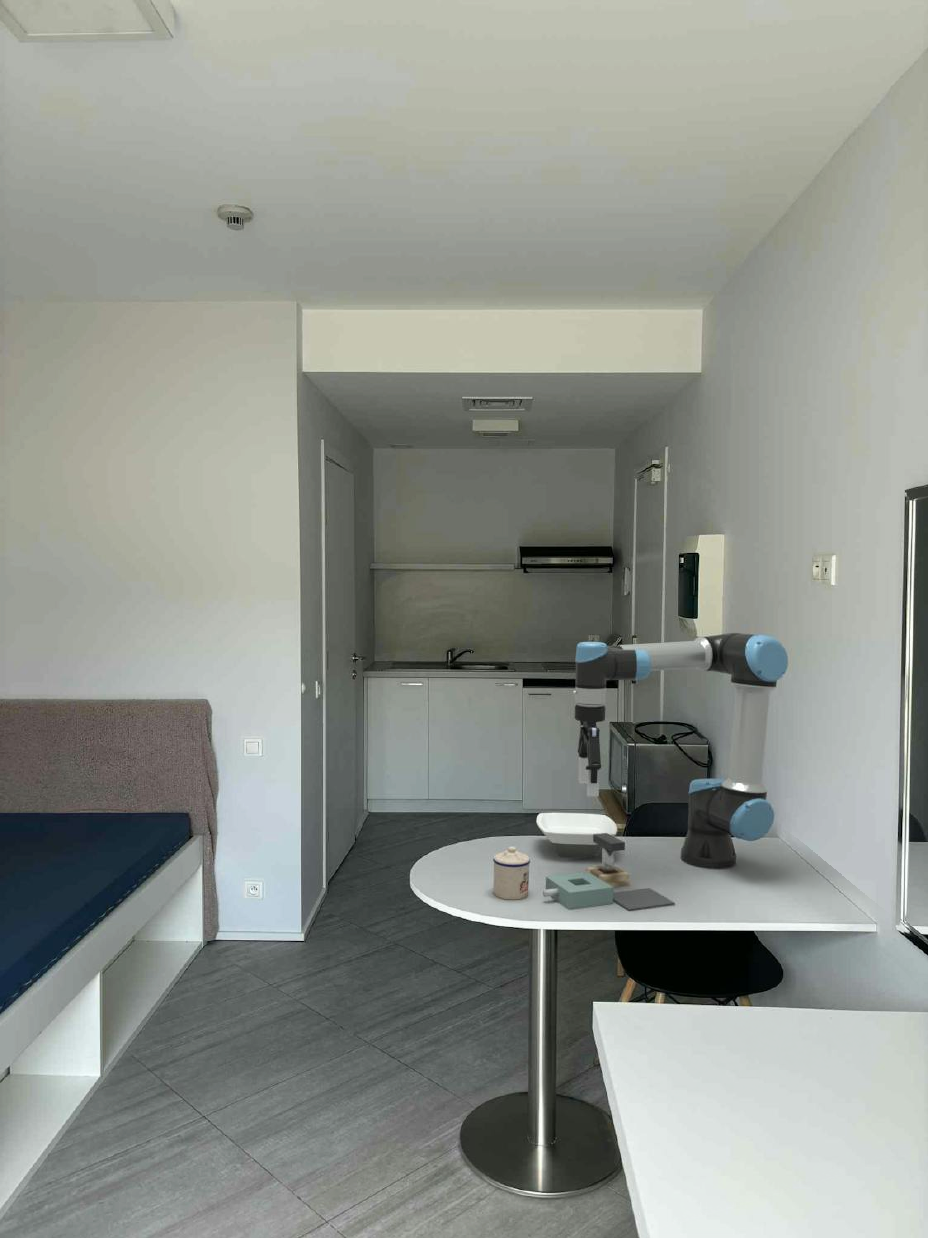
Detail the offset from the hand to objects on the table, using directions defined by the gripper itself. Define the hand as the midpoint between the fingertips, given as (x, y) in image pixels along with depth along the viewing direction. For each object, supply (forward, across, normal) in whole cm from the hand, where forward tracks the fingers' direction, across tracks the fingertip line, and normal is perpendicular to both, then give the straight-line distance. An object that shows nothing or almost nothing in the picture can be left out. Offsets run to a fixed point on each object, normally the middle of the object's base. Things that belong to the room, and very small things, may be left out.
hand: (588, 789), depth 220 cm
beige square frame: (+26, -8, +7) cm, 28 cm away
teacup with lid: (+26, +1, -19) cm, 32 cm away
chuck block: (+26, +5, -4) cm, 27 cm away
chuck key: (+26, -8, +7) cm, 28 cm away
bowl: (+26, -34, +2) cm, 43 cm away
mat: (+26, +5, +12) cm, 29 cm away
